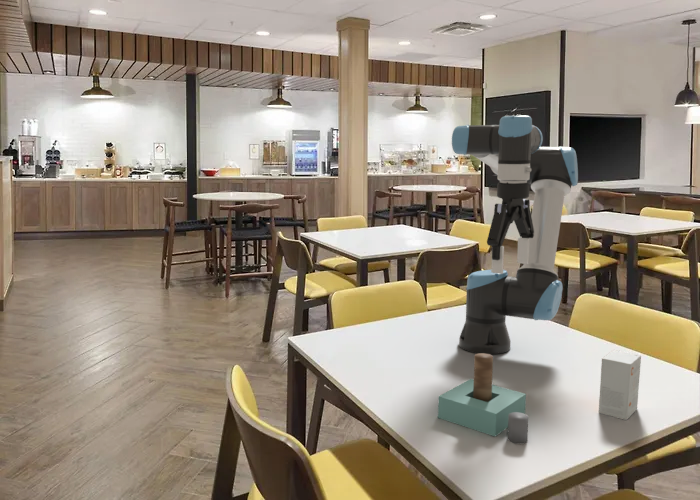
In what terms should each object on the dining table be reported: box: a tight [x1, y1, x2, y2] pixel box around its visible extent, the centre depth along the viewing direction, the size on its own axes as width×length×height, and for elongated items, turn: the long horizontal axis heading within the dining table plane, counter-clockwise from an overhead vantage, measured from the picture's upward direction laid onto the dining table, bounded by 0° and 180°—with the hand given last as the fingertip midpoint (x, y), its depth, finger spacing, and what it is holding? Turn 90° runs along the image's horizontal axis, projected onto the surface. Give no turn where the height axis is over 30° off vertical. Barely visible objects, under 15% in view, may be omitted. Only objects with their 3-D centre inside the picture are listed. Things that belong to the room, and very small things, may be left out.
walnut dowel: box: [473, 353, 494, 402], centre depth 138 cm, size 4×4×14 cm
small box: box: [598, 349, 642, 421], centre depth 141 cm, size 8×6×13 cm
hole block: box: [437, 378, 527, 437], centre depth 139 cm, size 14×14×5 cm
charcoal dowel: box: [507, 412, 530, 445], centre depth 128 cm, size 4×4×5 cm
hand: (510, 268), depth 154 cm, fingers open, 13 cm apart
